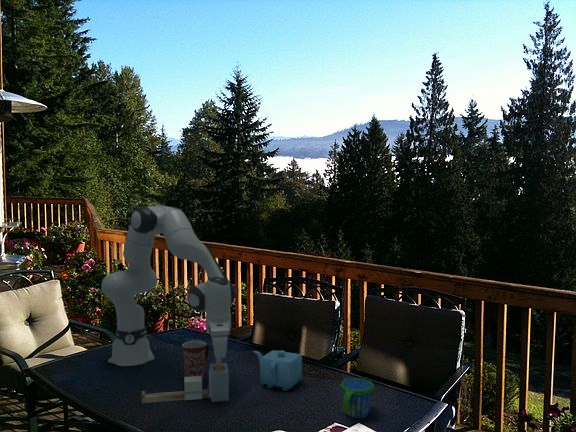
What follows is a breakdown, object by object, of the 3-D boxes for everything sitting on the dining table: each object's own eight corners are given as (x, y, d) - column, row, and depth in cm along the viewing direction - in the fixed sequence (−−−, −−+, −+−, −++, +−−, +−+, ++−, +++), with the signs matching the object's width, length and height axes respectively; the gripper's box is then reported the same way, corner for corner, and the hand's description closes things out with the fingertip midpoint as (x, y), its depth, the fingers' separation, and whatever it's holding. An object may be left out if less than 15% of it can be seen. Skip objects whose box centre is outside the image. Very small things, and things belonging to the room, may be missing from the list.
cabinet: (208, 390, 191) (208, 363, 190) (226, 389, 192) (226, 362, 192) (210, 402, 181) (210, 373, 181) (228, 400, 182) (228, 372, 182)
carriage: (184, 394, 187) (184, 376, 186) (201, 393, 188) (201, 375, 188) (184, 400, 182) (184, 382, 182) (202, 398, 183) (202, 380, 183)
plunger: (214, 377, 188) (214, 364, 187) (223, 377, 188) (222, 363, 188) (215, 380, 185) (215, 366, 184) (223, 380, 185) (223, 366, 185)
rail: (142, 399, 183) (142, 391, 183) (210, 394, 188) (210, 386, 187) (141, 403, 180) (141, 394, 180) (210, 397, 185) (210, 389, 185)
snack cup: (357, 427, 162) (357, 395, 162) (329, 417, 169) (329, 386, 169) (383, 411, 174) (383, 380, 174) (356, 402, 181) (356, 373, 180)
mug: (195, 384, 197) (195, 349, 196) (177, 379, 202) (177, 345, 201) (217, 374, 208) (216, 340, 207) (199, 369, 213) (199, 336, 212)
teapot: (304, 380, 201) (304, 347, 200) (287, 395, 187) (287, 359, 186) (262, 373, 209) (262, 341, 208) (243, 387, 194) (242, 353, 194)
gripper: (208, 316, 195) (208, 353, 196) (210, 332, 175) (210, 373, 176) (225, 316, 196) (225, 352, 197) (229, 331, 176) (229, 372, 177)
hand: (218, 362), depth 186 cm, fingers closed
